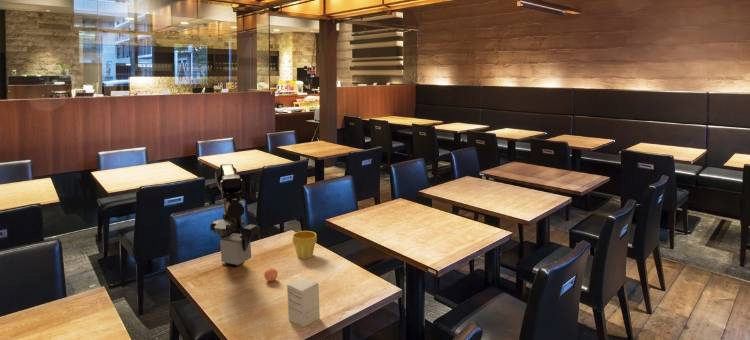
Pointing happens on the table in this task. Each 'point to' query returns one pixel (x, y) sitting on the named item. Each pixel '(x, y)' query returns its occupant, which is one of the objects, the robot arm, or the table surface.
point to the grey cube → (234, 249)
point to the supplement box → (303, 301)
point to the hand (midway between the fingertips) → (236, 249)
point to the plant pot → (304, 243)
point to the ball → (270, 274)
